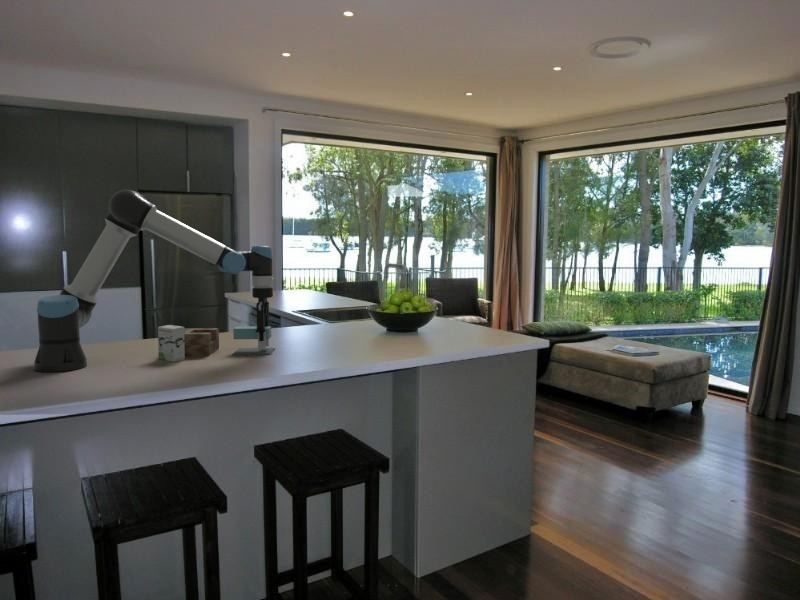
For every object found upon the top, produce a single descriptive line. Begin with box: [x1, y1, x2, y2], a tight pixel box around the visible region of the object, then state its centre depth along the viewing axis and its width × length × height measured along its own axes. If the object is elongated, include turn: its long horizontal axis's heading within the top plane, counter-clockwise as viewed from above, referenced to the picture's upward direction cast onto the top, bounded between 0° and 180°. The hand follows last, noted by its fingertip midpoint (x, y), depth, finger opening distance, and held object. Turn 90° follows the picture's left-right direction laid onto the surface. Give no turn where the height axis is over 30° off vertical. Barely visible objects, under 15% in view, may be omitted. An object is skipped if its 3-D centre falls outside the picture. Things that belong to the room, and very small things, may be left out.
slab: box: [232, 325, 272, 340], centre depth 227 cm, size 13×6×4 cm, turn 93°
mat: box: [231, 347, 276, 356], centre depth 228 cm, size 14×12×1 cm
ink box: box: [157, 324, 186, 362], centre depth 212 cm, size 9×5×12 cm, turn 60°
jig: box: [184, 327, 220, 357], centre depth 226 cm, size 16×15×8 cm
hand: (263, 347), depth 228 cm, fingers closed on slab, 6 cm apart
